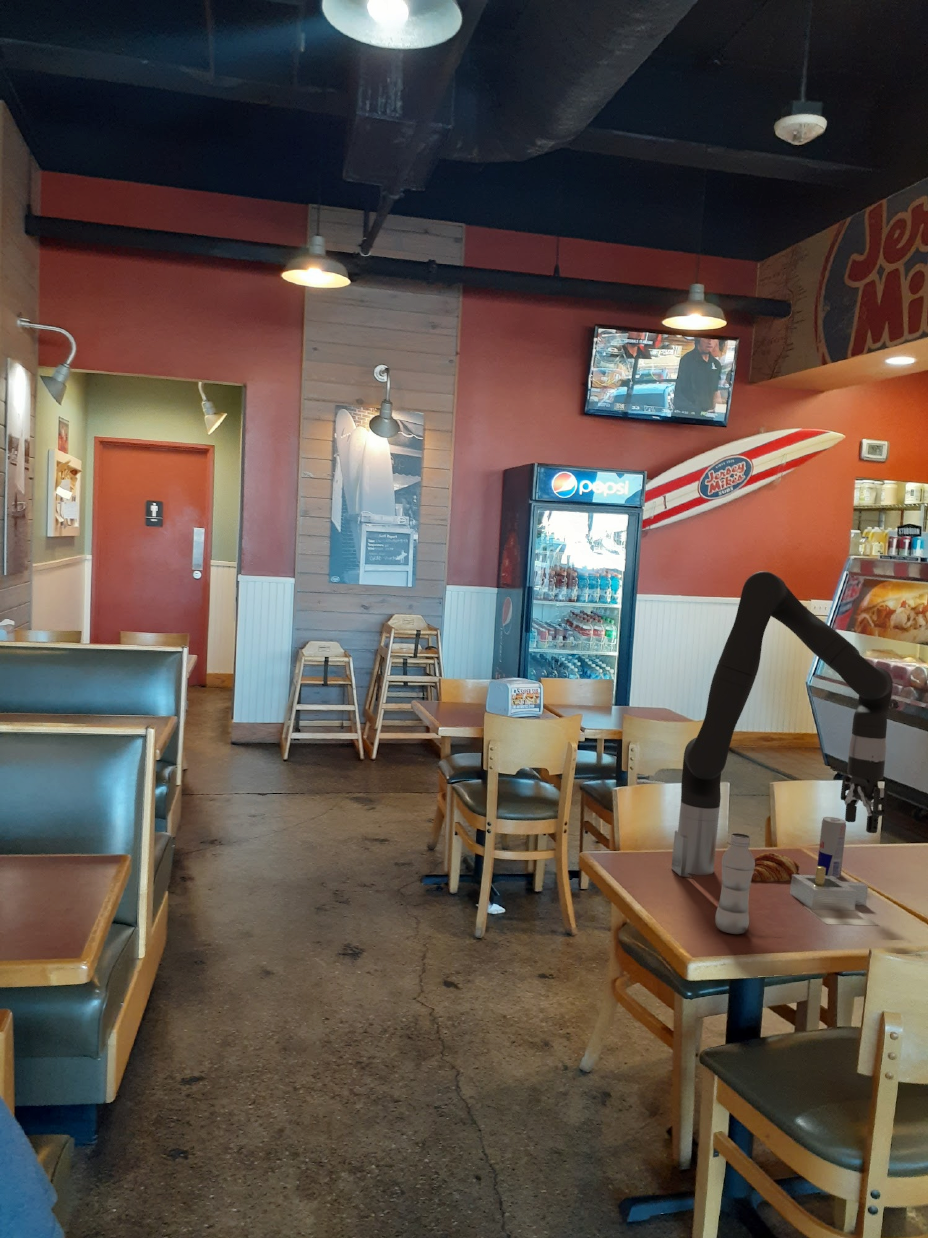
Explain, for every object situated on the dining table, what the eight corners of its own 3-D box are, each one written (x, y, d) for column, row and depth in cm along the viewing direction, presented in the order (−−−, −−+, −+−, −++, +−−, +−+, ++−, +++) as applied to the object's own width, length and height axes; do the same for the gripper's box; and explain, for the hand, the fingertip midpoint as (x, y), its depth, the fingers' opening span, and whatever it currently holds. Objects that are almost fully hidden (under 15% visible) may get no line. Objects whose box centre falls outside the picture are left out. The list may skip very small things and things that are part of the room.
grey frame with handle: (811, 909, 203) (813, 889, 203) (790, 893, 213) (791, 874, 213) (875, 911, 205) (877, 891, 205) (851, 896, 215) (853, 876, 215)
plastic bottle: (709, 925, 193) (718, 830, 192) (740, 926, 193) (750, 832, 192) (720, 937, 186) (730, 839, 185) (753, 939, 187) (763, 841, 186)
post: (815, 904, 208) (819, 868, 207) (811, 900, 210) (814, 865, 209) (823, 904, 208) (827, 869, 207) (819, 901, 210) (822, 866, 209)
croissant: (784, 882, 236) (774, 851, 239) (819, 875, 230) (808, 842, 232) (738, 895, 222) (728, 861, 225) (774, 887, 215) (763, 852, 218)
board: (820, 930, 195) (820, 924, 194) (778, 897, 213) (778, 892, 213) (891, 933, 197) (891, 927, 197) (843, 900, 215) (843, 894, 215)
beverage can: (836, 876, 233) (842, 817, 233) (843, 883, 228) (849, 823, 227) (813, 873, 234) (819, 815, 233) (819, 881, 228) (826, 821, 228)
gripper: (834, 749, 215) (828, 818, 216) (869, 762, 201) (863, 836, 202) (864, 750, 216) (858, 819, 217) (901, 763, 202) (894, 837, 203)
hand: (860, 827), depth 209 cm, fingers open, 8 cm apart
